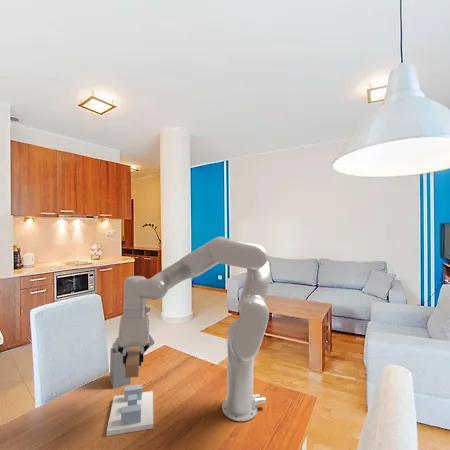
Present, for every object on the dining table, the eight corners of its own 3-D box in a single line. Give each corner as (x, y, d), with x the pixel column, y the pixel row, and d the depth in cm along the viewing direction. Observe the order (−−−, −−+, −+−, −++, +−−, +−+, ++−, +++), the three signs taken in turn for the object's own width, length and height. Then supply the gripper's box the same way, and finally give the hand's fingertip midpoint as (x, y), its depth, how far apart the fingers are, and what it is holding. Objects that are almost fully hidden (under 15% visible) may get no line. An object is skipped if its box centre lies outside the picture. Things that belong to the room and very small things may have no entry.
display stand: (152, 394, 105) (153, 380, 105) (153, 428, 88) (153, 411, 88) (113, 400, 102) (114, 385, 102) (106, 436, 84) (107, 418, 84)
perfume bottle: (126, 376, 118) (127, 334, 118) (130, 383, 112) (131, 340, 113) (109, 380, 114) (110, 337, 115) (113, 388, 109) (114, 343, 109)
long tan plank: (139, 354, 103) (140, 343, 103) (138, 376, 88) (138, 364, 88) (128, 355, 102) (129, 344, 102) (125, 378, 87) (125, 365, 87)
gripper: (159, 307, 101) (157, 357, 101) (110, 310, 97) (108, 362, 96) (159, 314, 94) (158, 367, 94) (107, 317, 89) (105, 373, 89)
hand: (133, 364), depth 95 cm, fingers closed on long tan plank, 4 cm apart
